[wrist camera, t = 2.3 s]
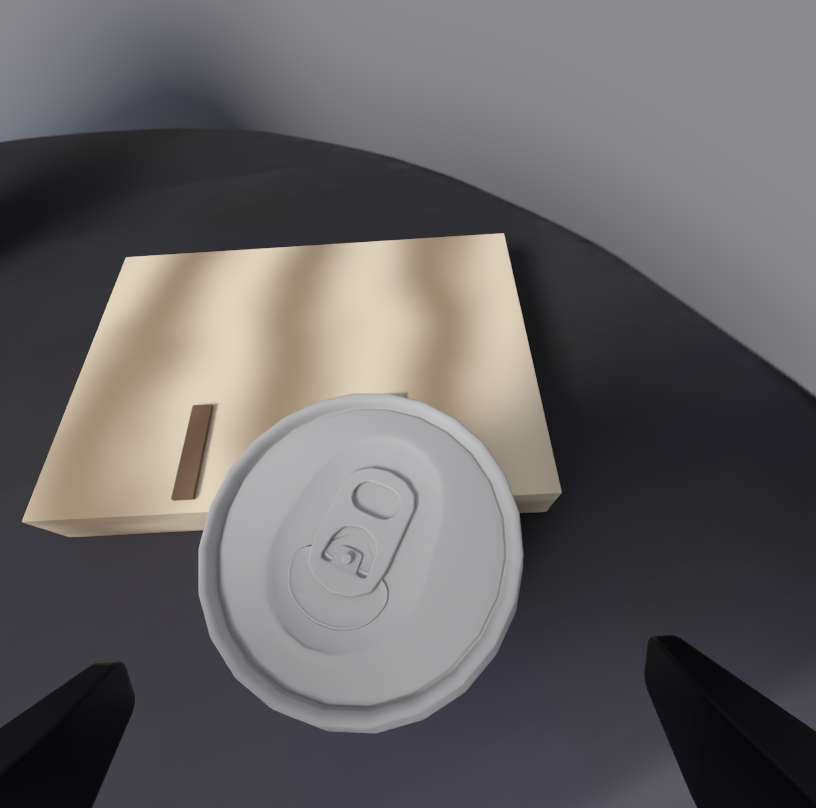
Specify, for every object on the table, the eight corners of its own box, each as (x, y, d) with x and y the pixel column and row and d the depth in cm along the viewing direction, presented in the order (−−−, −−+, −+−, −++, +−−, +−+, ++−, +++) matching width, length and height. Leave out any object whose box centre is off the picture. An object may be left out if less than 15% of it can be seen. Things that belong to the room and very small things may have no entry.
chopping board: (497, 269, 25) (504, 230, 23) (545, 511, 18) (563, 491, 16) (151, 291, 25) (123, 254, 23) (69, 537, 18) (17, 520, 16)
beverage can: (317, 642, 16) (109, 628, 6) (374, 522, 18) (301, 349, 8) (438, 708, 15) (459, 841, 5) (485, 572, 17) (573, 446, 7)
